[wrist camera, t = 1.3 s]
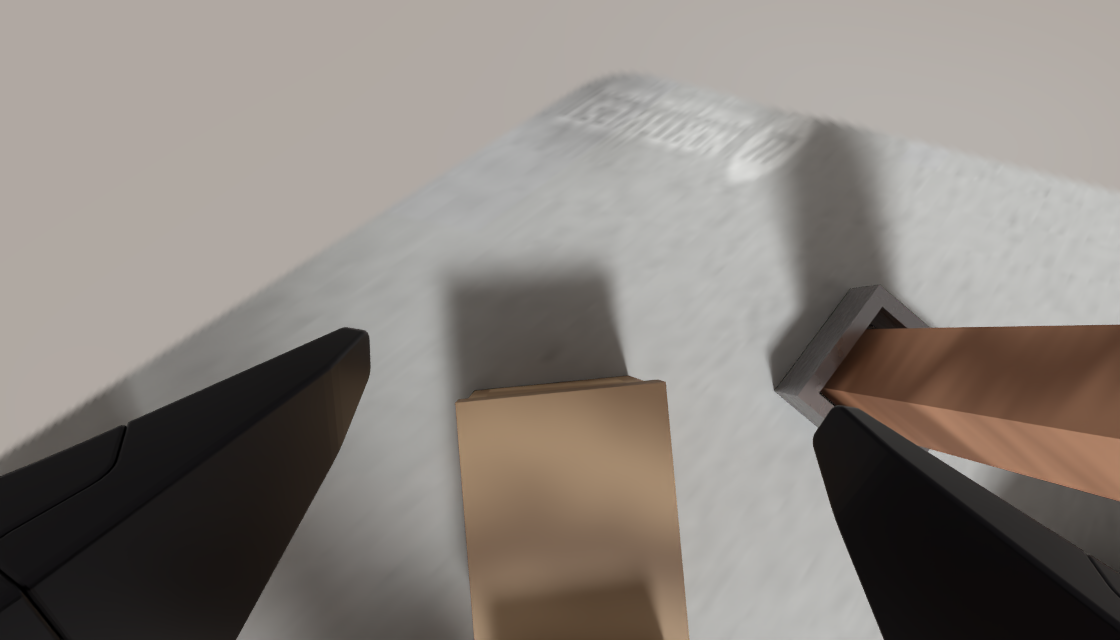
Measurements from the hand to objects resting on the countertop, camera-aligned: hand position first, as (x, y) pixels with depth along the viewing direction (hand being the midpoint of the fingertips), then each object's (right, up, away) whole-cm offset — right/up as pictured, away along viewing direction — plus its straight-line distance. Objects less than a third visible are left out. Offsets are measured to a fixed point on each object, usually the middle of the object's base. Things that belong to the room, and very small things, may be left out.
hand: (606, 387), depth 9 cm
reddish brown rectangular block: (+16, -2, +16) cm, 23 cm away
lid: (0, -8, +10) cm, 13 cm away
